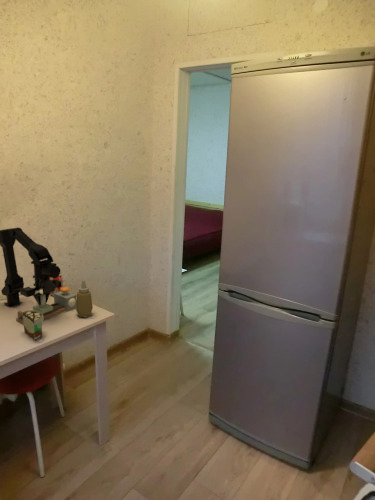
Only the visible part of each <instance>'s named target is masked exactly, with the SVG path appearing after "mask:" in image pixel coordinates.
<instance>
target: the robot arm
mask: <svg viewBox="0 0 375 500" xmlns="http://www.w3.org/2000/svg"><path fill="white" fill-rule="evenodd" d="M16 241H17V242H18V243H19V244H20V245H21V246H23V248H24V249H25V250H26V251H27V252H28V254H27V255H28V256H29V258H30V259H31V261H30V264H31V265H33V274H34V275H32V278H33V279H34V283H33V284H32V285H33V286H34V287H31V286H26V287H24V286H25V282H24V277H23V276H21V275H20V274H18V268H17V261H16V254H15V250H14V246H15V244H16ZM0 247H1V249H2V254H3V261H4V266H5V269H6V270H5V272H6V277H5V279H4V286H3V287H2V289H1V291H0V292H1V294H2V295H3V296H6V302H4V303H3V304H4V306H7V307H9V308H14V307H16V306H20V305H22V304H23V302H22V301H21V299H20V295H21V296H24V297H26V298H30V297H33V298H34V299H35V302H36V303H37V305H41V299H40V295H41V294H45V295H46V304H48V300H49V297H50V295H51V294H50V293H51V292H52V291H55V288H58V287H61V286H62V283H61V281H59V280H57V279H53V280H50V277H51V278H57V277H58V276H59V275H60V273H61V269H60V267H59V266H58V265H57V263H55V262H54V259H53V256H52V254H51V253H50V252H49V250H48V248H47V247H45V246H44V245H42V244H40V243H36V242H35V241H34V240H33V239H32V238H31V237H30V236H29V235H28V234H27V233H25V232H24V231H23V229H22V228H21V227H11V228H4V229H0ZM40 291H42V293H41V292H40Z"/></svg>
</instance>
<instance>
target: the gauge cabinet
mask: <svg viewBox="0 0 375 500" xmlns="http://www.w3.org/2000/svg"><path fill="white" fill-rule="evenodd" d="M76 300H77V294H74V293H72V292H70V291H68V292H67V295H63V292H61V291H60V292H57V293H54V296H53V301H54V302H53V304H54V303H56V302H57V303H58V305H60V306H62V305H64V308H66V311H65V312H69V311H71V310H73V309H76Z"/></svg>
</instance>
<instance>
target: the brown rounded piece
mask: <svg viewBox="0 0 375 500" xmlns="http://www.w3.org/2000/svg"><path fill="white" fill-rule="evenodd" d="M60 291H61V292H63V295H67V292H70V287H68V286H63V287H62V288H60Z"/></svg>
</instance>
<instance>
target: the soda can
mask: <svg viewBox="0 0 375 500" xmlns="http://www.w3.org/2000/svg"><path fill="white" fill-rule="evenodd" d="M63 278H64V277H63V276H62V273H61V272H60V275H59V276H58V277H57V278H51V277H50V280H53V279H57V280H59V281H61V283H62V286H61V287H58V288H55V291H52V292H51V293H50V295H51V296H52V297H54V293H57V292H60V288H62V287H64V281H63Z"/></svg>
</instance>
